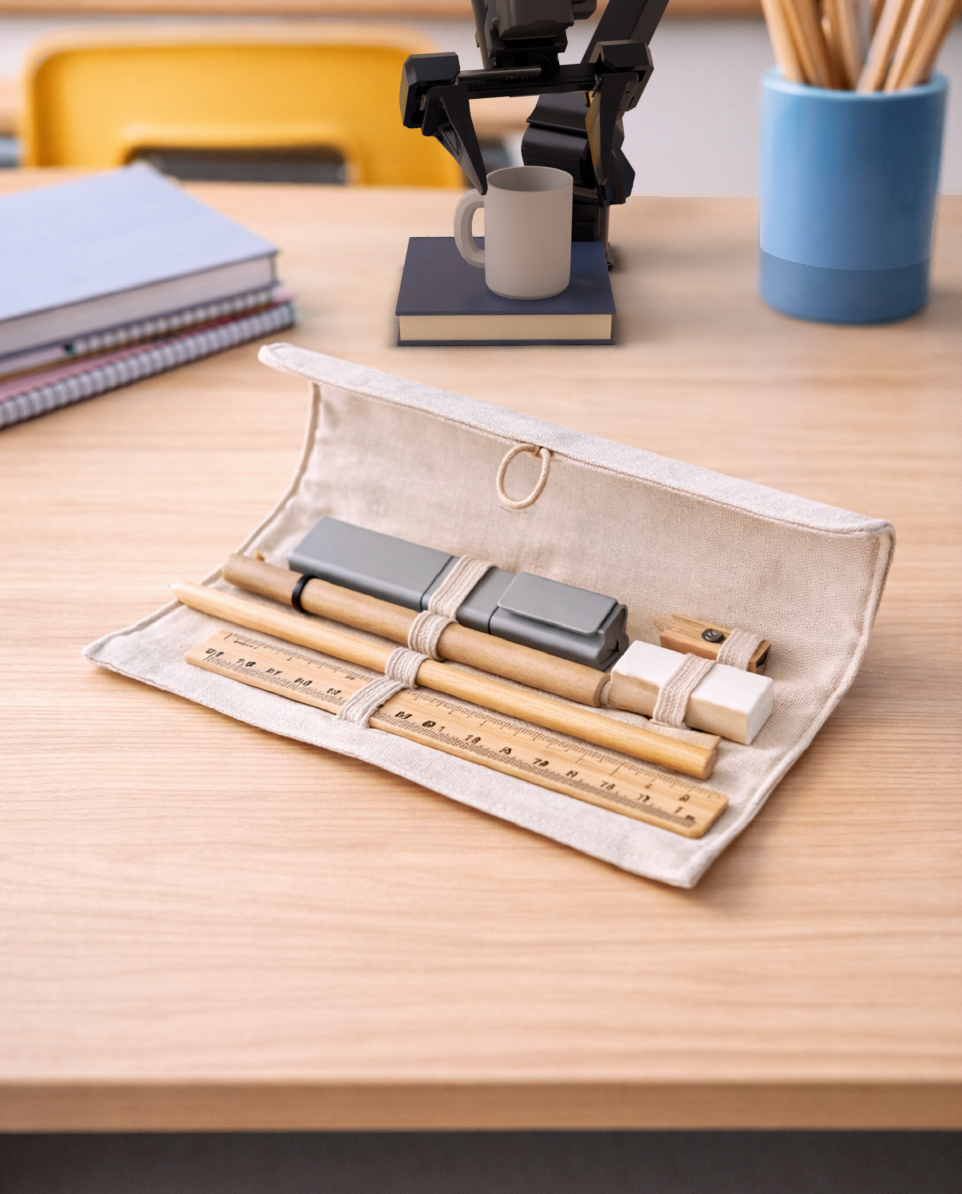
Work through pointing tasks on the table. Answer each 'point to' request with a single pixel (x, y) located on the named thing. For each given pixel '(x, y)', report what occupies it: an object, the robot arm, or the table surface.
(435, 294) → the book
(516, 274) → the cup
